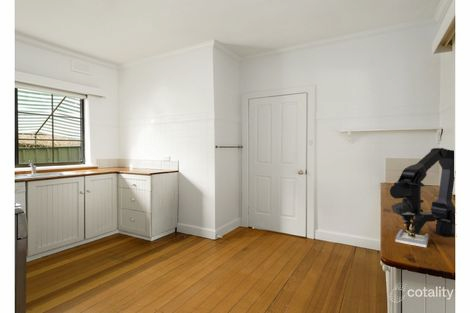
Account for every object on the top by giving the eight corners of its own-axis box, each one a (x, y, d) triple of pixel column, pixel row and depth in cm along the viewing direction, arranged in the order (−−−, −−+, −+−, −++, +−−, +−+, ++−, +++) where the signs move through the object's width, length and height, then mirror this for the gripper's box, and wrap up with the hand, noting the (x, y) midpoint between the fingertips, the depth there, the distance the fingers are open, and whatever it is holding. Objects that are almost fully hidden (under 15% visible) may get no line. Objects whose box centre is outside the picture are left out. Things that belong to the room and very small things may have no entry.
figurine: (401, 233, 119) (403, 217, 117) (412, 232, 119) (414, 216, 117) (408, 239, 114) (411, 222, 112) (419, 238, 114) (422, 222, 112)
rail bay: (400, 233, 124) (400, 229, 124) (428, 238, 117) (428, 233, 117) (395, 241, 114) (395, 236, 114) (426, 247, 107) (426, 242, 107)
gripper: (382, 193, 124) (382, 226, 124) (409, 201, 105) (409, 239, 106) (405, 193, 124) (405, 225, 125) (436, 201, 106) (436, 239, 106)
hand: (412, 232), depth 115 cm, fingers closed on figurine, 4 cm apart
